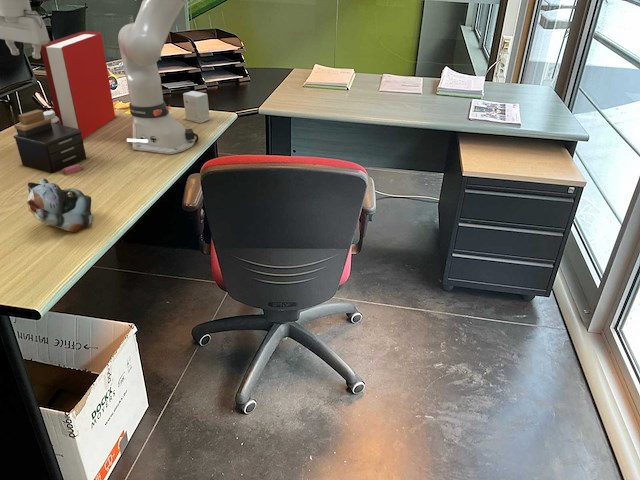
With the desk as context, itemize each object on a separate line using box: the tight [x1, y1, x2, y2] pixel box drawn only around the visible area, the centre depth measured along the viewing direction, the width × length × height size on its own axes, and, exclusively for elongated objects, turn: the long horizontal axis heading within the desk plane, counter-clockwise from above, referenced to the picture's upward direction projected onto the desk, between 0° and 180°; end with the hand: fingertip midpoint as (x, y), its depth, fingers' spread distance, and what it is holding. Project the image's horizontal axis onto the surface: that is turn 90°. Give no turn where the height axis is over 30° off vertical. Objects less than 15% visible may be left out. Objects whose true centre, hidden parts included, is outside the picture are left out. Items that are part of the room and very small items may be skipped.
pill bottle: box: [43, 110, 61, 125], centre depth 190 cm, size 5×5×10 cm
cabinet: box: [13, 123, 87, 175], centre depth 173 cm, size 14×14×10 cm
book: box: [40, 30, 116, 139], centre depth 197 cm, size 27×8×32 cm, turn 172°
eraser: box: [62, 163, 82, 175], centre depth 169 cm, size 5×2×1 cm, turn 140°
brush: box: [13, 108, 52, 137], centre depth 169 cm, size 4×10×6 cm, turn 154°
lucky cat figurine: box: [26, 178, 94, 233], centre depth 137 cm, size 15×12×14 cm
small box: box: [182, 90, 211, 124], centre depth 213 cm, size 8×6×10 cm
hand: (26, 56), depth 168 cm, fingers open, 8 cm apart
